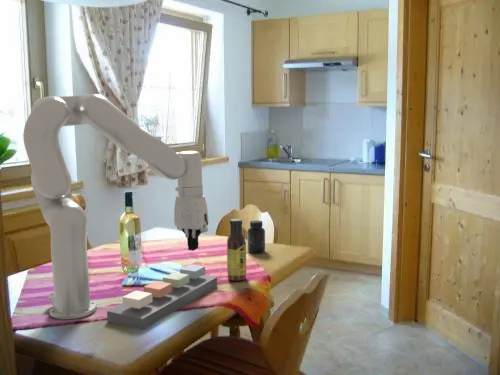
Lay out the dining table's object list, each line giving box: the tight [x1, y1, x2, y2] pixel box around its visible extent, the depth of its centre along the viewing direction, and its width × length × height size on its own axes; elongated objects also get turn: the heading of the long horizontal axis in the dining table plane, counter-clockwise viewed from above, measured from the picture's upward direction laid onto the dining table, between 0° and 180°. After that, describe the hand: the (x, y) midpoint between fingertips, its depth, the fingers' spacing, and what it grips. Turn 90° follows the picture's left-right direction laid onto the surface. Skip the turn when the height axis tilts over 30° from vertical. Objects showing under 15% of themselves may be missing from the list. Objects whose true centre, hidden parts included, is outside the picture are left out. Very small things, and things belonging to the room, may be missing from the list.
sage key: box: [162, 272, 189, 288], centre depth 164 cm, size 6×6×2 cm
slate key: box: [179, 264, 206, 279], centre depth 171 cm, size 6×6×2 cm
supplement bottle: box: [247, 220, 266, 255], centre depth 212 cm, size 7×7×12 cm
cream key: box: [122, 290, 152, 309], centre depth 148 cm, size 6×6×2 cm
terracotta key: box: [143, 280, 172, 298], centre depth 156 cm, size 6×6×2 cm
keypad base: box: [106, 274, 218, 331], centre depth 160 cm, size 12×37×3 cm, turn 152°
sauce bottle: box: [226, 218, 247, 282], centre depth 179 cm, size 7×6×20 cm
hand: (193, 249), depth 171 cm, fingers closed
